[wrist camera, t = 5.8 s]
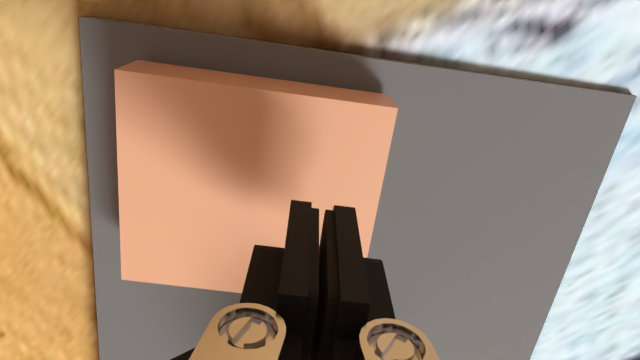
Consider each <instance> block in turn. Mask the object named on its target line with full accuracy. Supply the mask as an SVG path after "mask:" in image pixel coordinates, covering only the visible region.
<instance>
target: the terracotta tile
mask: <svg viewBox="0 0 640 360" xmlns="http://www.w3.org/2000/svg"><path fill="white" fill-rule="evenodd" d="M114 76H115V106H116V135H117V164H118V194H119V223H120V252H121V280H130V281H138V282H147V283H156V284H165V285H174V286H182V287H191V288H200V289H209V290H218V291H226V292H235V293H242V291H243V287H244V283H245V279H246V275H247V271H248V268H249V264H250V260H251V256H252V252H253V248H254V245H263V246H272V247H280V248H285V241H286V234H287V226H288V219H289V212H290V204H291V200H298V201H306V202H312V208H318V209H319V245H320V239H321V233H322V226H323V220H324V214H325V210H333V207H334V205H338V206H346V207H354V208H355V209H356V216H357V222H358V228H359V234H360V241H361V247H362V253H363V257H364V258H367V256H368V252H369V247H370V242H371V237H372V232H373V227H374V223H375V218H376V213H377V208H378V203H379V198H380V194H381V189H382V184H383V179H384V174H385V169H386V165H387V160H388V155H389V150H390V145H391V140H392V136H393V131H394V126H395V121H396V116H397V111H398V107H397V106H396V104H395V102H394V101H393V99H392V98H391V96H390V95H389V94H382V93H374V92H367V91H360V90H353V89H346V88H338V87H331V86H324V85H317V84H309V83H302V82H295V81H288V80H280V79H273V78H266V77H259V76H251V75H244V74H237V73H230V72H222V71H215V70H208V69H201V68H194V67H186V66H179V65H172V64H165V63H157V62H150V61H143V60H136V61H134V62H131V63H129V64H126V65H124V66H121V67H119V68H116V69H114Z"/></svg>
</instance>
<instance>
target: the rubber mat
mask: <svg viewBox="0 0 640 360" xmlns="http://www.w3.org/2000/svg"><path fill="white" fill-rule="evenodd" d="M79 31H80V47H81V63H82V80H83V96H84V113H85V129H86V146H87V162H88V179H89V195H90V211H91V228H92V244H93V261H94V277H95V294H96V310H97V327H98V343H99V359H100V360H170V359H172V358H175V357H177V356H179V355H181V354H183V353H185V352H187V351H189V350H191V349H193V348H195V347H196V346H197V344H198V342H199V340H200V339H201V337H202V335H203V333H204V332H205V330H206V328H207V326H208V325H209V323H210V321H211V319H212V318H213V317H214V316H215V315H216V313H217V312H219V311H220V310H222V309H224V308H225V307H227V306H231V305H234V304H239V303H240V299H241V295H242V293H235V292H226V291H218V290H209V289H200V288H191V287H182V286H174V285H165V284H156V283H147V282H138V281H130V280H121V252H120V223H119V194H118V164H117V135H116V106H115V76H114V69H116V68H119V67H121V66H124V65H126V64H129V63H131V62H134V61H136V60H143V61H150V62H157V63H165V64H172V65H179V66H186V67H194V68H201V69H208V70H215V71H222V72H230V73H237V74H244V75H251V76H259V77H266V78H273V79H280V80H288V81H295V82H302V83H309V84H317V85H324V86H331V87H338V88H346V89H353V90H360V91H367V92H374V93H382V94H389V95H390V96H391V98H392V99H393V101H394V102H395V104H396V106H397V107H398V111H397V116H396V121H395V126H394V131H393V136H392V140H391V145H390V150H389V155H388V160H387V165H386V169H385V174H384V179H383V184H382V189H381V194H380V198H379V203H378V208H377V213H376V218H375V223H374V227H373V232H372V237H371V242H370V247H369V252H368V256H367V258H373V259H380V260H382V262H383V266H384V270H385V274H386V279H387V283H388V288H389V292H390V296H391V301H392V305H393V310H394V314H395V318H396V319H397V320H400V321H403V322H406V323H409V324H411V325H412V326H414V327H416V328H418V329H419V330H420V331H421V332H422V333H424V334H425V335H426V336H427V338H428V339H429V341H430V342H431V343H432V345H433V347H434V349H435V351H436V353H437V355H438V357H439V359H440V360H530V357H531V355H532V352H533V350H534V347H535V345H536V342H537V340H538V338H539V335H540V333H541V330H542V328H543V325H544V323H545V320H546V318H547V315H548V313H549V310H550V308H551V306H552V303H553V301H554V298H555V296H556V293H557V291H558V288H559V286H560V283H561V281H562V278H563V276H564V274H565V271H566V269H567V266H568V264H569V261H570V259H571V256H572V254H573V251H574V249H575V246H576V244H577V242H578V239H579V237H580V234H581V232H582V229H583V227H584V224H585V222H586V219H587V217H588V214H589V212H590V210H591V207H592V205H593V202H594V200H595V197H596V195H597V192H598V190H599V187H600V185H601V182H602V180H603V178H604V175H605V173H606V170H607V168H608V165H609V163H610V160H611V158H612V155H613V153H614V150H615V148H616V145H617V143H618V141H619V138H620V136H621V133H622V131H623V128H624V126H625V123H626V121H627V118H628V116H629V113H630V111H631V109H632V106H633V104H634V101H635V99H636V96H635V95H632V94H626V93H619V92H612V91H605V90H598V89H591V88H584V87H578V86H571V85H564V84H557V83H550V82H543V81H536V80H529V79H522V78H516V77H509V76H502V75H495V74H488V73H481V72H474V71H467V70H461V69H454V68H447V67H440V66H433V65H426V64H419V63H412V62H405V61H399V60H392V59H385V58H378V57H371V56H364V55H357V54H350V53H343V52H337V51H330V50H323V49H316V48H309V47H302V46H295V45H288V44H281V43H275V42H268V41H261V40H254V39H247V38H240V37H233V36H226V35H220V34H213V33H206V32H198V31H191V30H184V29H177V28H170V27H163V26H156V25H149V24H142V23H135V22H128V21H121V20H114V19H107V18H100V17H93V16H82V17H79Z"/></svg>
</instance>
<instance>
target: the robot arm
mask: <svg viewBox="0 0 640 360" xmlns="http://www.w3.org/2000/svg"><path fill="white" fill-rule="evenodd" d="M170 360H440V359H439V357H438V355H437V353H436V351H435V349H434V347H433V345H432V343H431V342H430V341H429V339H428V338H427V336H426V335H425V334H424V333H422V332H421V331H420V330H419V329H418V328H416V327H414V326H412V325H411V324H409V323H406V322H403V321H400V320H397V319H396V318H395V314H394V310H393V305H392V301H391V296H390V292H389V288H388V283H387V279H386V274H385V270H384V266H383V262H382V260H380V259H373V258H364V257H363V253H362V247H361V241H360V234H359V228H358V222H357V216H356V209H355V208H354V207H346V206H338V205H334V207H333V210H325V214H324V220H323V226H322V233H321V239H320V245H319V209H318V208H312V202H306V201H298V200H291V204H290V212H289V219H288V226H287V234H286V241H285V248H280V247H272V246H263V245H254V248H253V252H252V256H251V260H250V264H249V268H248V271H247V275H246V279H245V283H244V287H243V291H242V295H241V299H240V303H239V304H234V305H231V306H227V307H225V308H224V309H222V310H220V311H219V312H217V313H216V315H215V316H214V317H213V318H212V319H211V321H210V323H209V325H208V326H207V328H206V330H205V332H204V333H203V335H202V337H201V339H200V340H199V342H198V344H197V346H196V347H195V348H193V349H191V350H189V351H187V352H185V353H183V354H181V355H179V356H177V357H175V358H172V359H170Z"/></svg>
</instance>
